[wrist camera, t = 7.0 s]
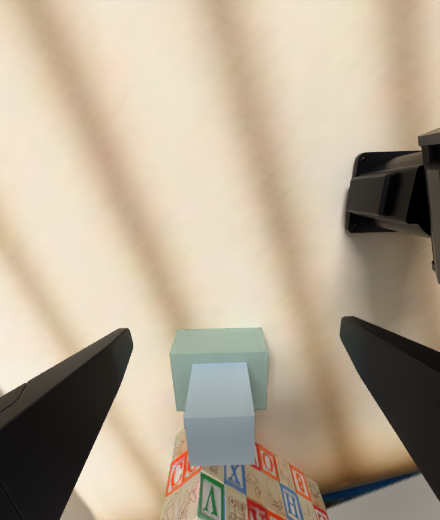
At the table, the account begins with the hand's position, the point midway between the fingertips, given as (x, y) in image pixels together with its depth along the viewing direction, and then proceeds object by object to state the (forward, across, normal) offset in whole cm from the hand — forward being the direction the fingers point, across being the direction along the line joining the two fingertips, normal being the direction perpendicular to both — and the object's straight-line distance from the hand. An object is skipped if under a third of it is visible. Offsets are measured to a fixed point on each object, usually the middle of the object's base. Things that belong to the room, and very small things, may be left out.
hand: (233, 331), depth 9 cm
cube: (+8, +2, +12) cm, 14 cm away
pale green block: (+12, +2, +12) cm, 17 cm away
